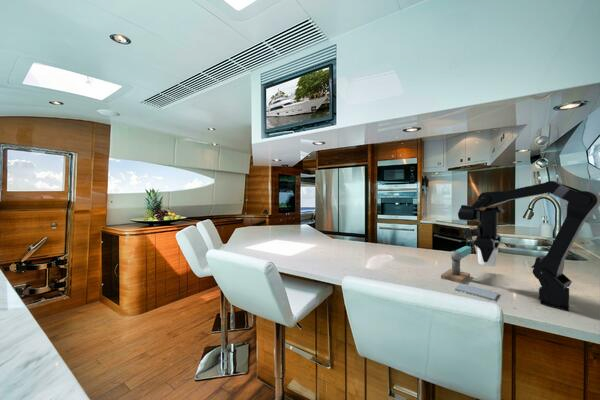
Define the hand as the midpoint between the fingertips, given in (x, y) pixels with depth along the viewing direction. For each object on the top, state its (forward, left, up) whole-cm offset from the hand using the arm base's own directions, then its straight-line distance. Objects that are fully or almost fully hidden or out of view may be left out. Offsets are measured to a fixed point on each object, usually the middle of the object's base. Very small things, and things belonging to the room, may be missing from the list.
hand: (487, 260), depth 96 cm
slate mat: (+1, +12, -10) cm, 16 cm away
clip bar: (+11, -8, -2) cm, 14 cm away
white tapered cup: (0, 0, -2) cm, 2 cm away
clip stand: (+11, 0, -10) cm, 15 cm away
